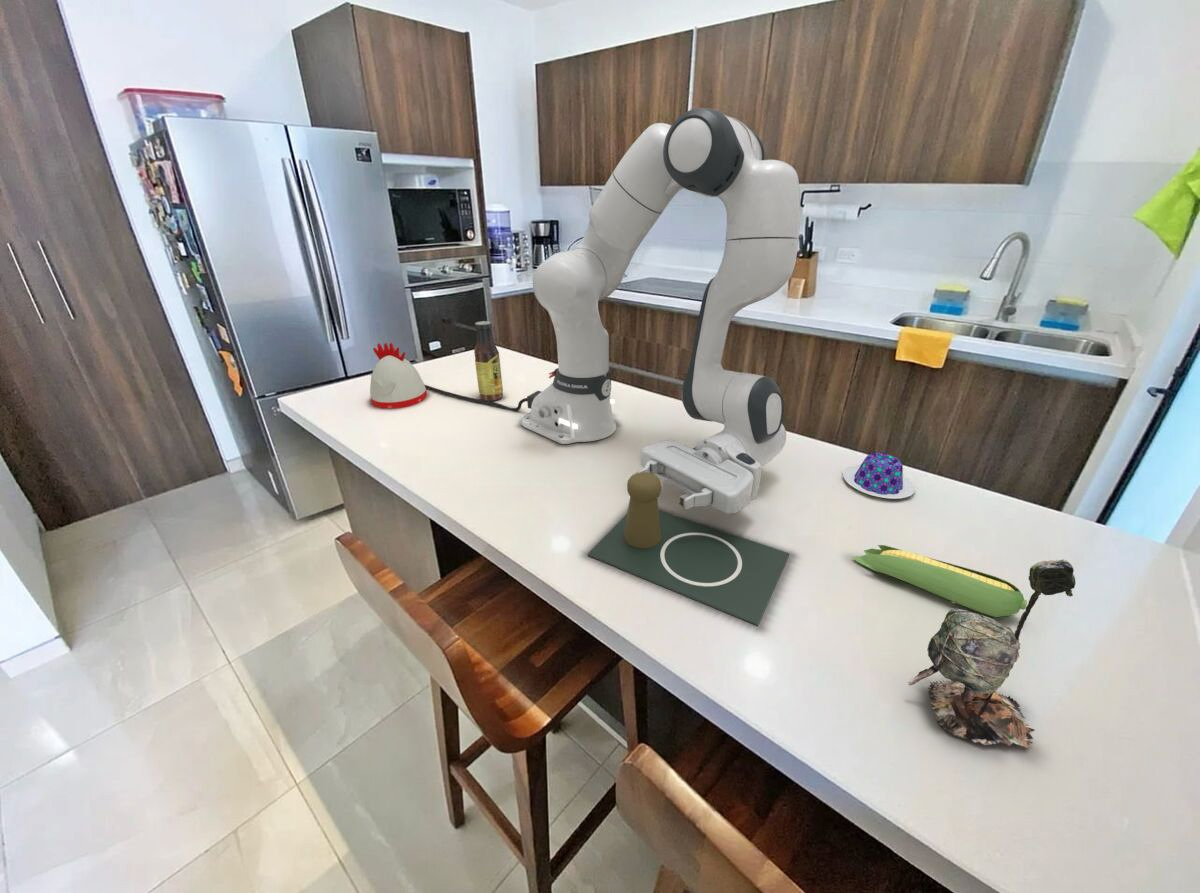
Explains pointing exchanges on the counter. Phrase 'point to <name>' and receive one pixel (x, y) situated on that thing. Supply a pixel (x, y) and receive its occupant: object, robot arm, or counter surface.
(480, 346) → the sauce bottle
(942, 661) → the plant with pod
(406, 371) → the grey and red dome
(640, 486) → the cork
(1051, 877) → the counter surface
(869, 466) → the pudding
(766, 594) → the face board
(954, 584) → the edible corn
